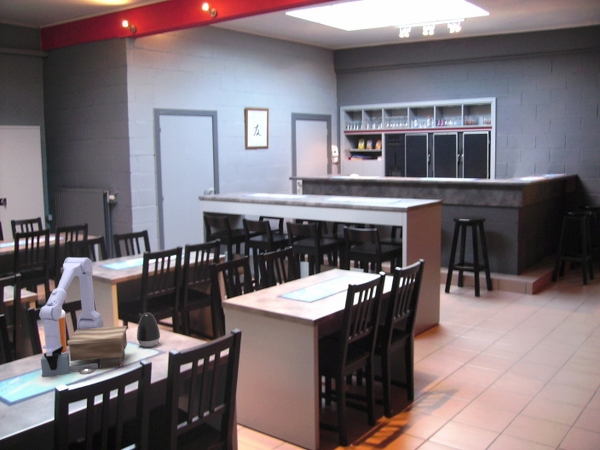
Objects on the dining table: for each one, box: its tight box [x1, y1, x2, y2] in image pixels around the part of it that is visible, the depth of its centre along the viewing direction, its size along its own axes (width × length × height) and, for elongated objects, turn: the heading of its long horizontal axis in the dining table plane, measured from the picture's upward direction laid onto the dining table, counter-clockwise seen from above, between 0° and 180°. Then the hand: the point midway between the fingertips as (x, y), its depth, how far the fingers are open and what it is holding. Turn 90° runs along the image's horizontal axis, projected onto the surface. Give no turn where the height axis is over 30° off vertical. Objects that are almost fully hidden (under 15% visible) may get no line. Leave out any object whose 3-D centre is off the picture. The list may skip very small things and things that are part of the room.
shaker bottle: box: [59, 309, 67, 353], centre depth 278 cm, size 9×9×20 cm
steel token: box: [79, 366, 94, 375], centre depth 251 cm, size 5×5×2 cm
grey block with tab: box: [40, 353, 99, 377], centre depth 252 cm, size 4×21×7 cm, turn 105°
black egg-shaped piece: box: [136, 312, 161, 348], centre depth 281 cm, size 10×10×15 cm
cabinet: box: [66, 325, 128, 369], centre depth 260 cm, size 17×21×13 cm
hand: (55, 367), depth 250 cm, fingers closed on grey block with tab, 4 cm apart
